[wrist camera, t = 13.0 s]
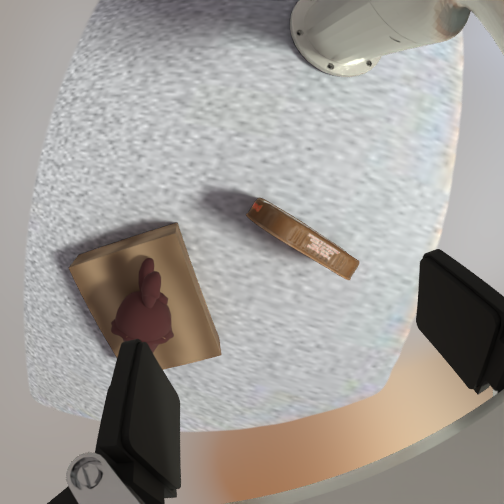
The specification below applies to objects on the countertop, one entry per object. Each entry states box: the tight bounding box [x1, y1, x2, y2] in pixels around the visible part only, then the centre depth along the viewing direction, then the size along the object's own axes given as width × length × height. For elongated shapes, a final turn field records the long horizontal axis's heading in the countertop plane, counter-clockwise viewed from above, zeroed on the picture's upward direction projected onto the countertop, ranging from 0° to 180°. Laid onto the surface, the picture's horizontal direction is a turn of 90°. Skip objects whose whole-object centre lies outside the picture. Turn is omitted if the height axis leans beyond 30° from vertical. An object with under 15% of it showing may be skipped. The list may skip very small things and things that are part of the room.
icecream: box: [111, 258, 174, 352], centre depth 34 cm, size 7×7×15 cm
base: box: [69, 223, 221, 370], centre depth 39 cm, size 14×18×4 cm
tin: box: [246, 198, 359, 280], centre depth 37 cm, size 15×3×8 cm, turn 57°
